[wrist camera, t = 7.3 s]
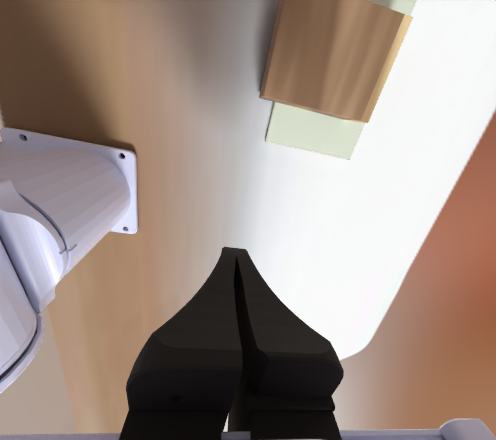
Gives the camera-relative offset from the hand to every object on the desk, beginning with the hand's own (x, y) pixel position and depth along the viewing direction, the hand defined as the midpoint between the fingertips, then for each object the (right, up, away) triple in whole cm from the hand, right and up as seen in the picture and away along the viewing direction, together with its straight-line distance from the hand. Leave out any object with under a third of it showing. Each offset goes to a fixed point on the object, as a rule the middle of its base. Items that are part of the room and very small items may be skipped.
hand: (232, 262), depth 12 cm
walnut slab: (+3, +14, +2) cm, 14 cm away
